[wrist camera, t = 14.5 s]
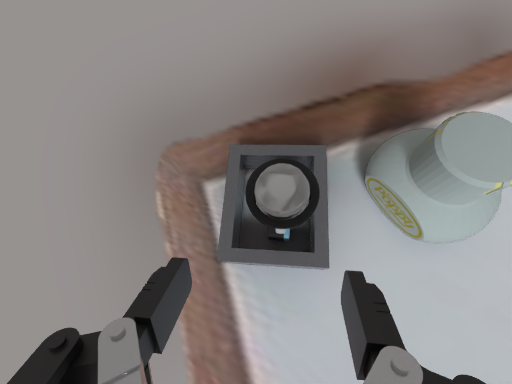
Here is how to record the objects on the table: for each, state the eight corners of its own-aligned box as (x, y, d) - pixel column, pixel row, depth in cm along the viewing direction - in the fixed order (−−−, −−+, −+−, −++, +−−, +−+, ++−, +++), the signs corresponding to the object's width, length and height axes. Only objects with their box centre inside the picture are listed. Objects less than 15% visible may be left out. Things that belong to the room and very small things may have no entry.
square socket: (321, 160, 28) (326, 145, 25) (323, 269, 24) (329, 268, 21) (236, 159, 29) (230, 144, 26) (225, 263, 25) (216, 260, 22)
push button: (262, 182, 28) (251, 133, 19) (310, 186, 27) (324, 138, 18) (254, 241, 26) (237, 220, 16) (306, 247, 25) (319, 229, 16)
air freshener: (346, 174, 27) (378, 119, 18) (406, 136, 28) (467, 65, 19) (419, 261, 24) (508, 250, 14) (485, 215, 24) (612, 176, 15)
